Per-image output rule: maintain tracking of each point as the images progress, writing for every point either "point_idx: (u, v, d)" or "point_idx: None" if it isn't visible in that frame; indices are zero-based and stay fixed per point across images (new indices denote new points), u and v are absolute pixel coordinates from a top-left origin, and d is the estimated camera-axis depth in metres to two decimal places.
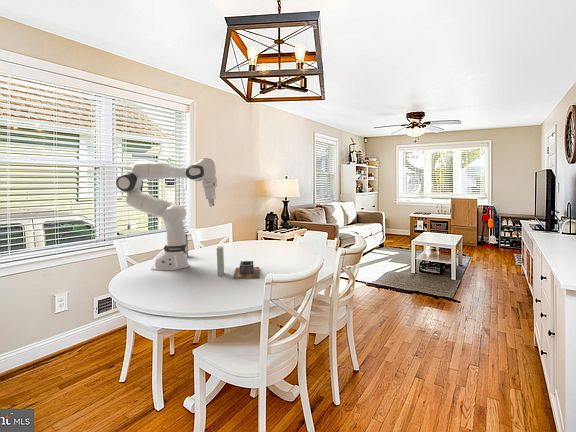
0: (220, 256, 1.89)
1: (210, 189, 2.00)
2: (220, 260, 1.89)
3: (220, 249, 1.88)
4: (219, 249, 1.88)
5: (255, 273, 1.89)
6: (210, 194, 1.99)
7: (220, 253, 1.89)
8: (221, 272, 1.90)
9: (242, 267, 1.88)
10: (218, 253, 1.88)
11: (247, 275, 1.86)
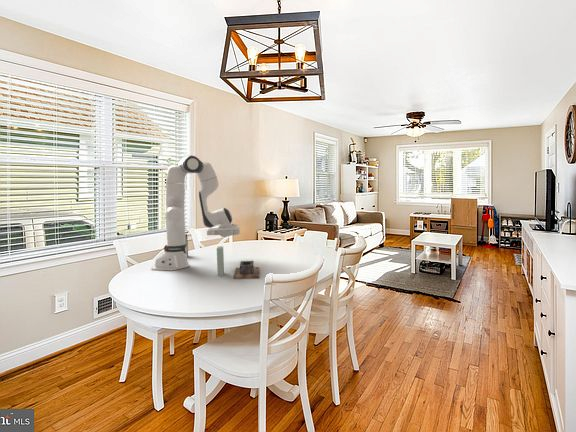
0: (220, 256, 1.89)
1: None
2: (220, 260, 1.89)
3: (220, 249, 1.88)
4: (219, 249, 1.88)
5: (255, 273, 1.89)
6: (239, 232, 2.11)
7: (220, 253, 1.89)
8: (221, 272, 1.90)
9: (242, 267, 1.88)
10: (218, 253, 1.88)
11: (247, 275, 1.86)
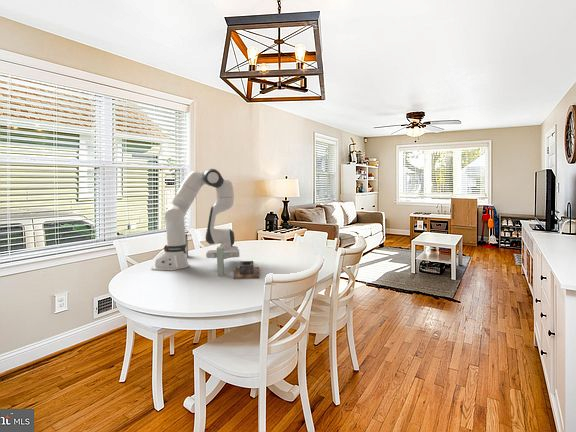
0: (220, 256, 1.89)
1: None
2: (220, 260, 1.89)
3: (220, 249, 1.88)
4: (219, 249, 1.88)
5: (255, 273, 1.89)
6: None
7: (220, 253, 1.89)
8: (221, 272, 1.90)
9: (242, 267, 1.88)
10: (218, 253, 1.88)
11: (247, 275, 1.86)
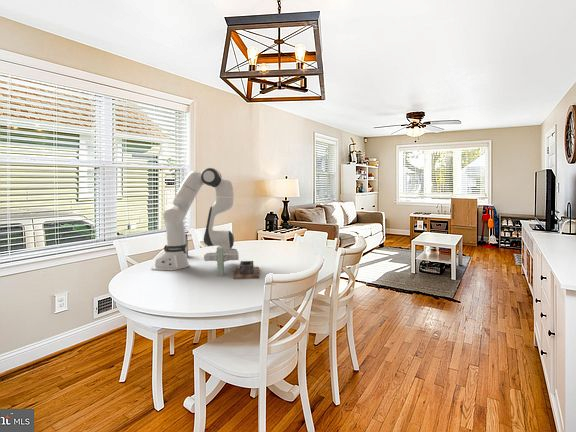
0: (220, 256, 1.89)
1: None
2: (220, 260, 1.89)
3: (220, 249, 1.88)
4: (219, 249, 1.88)
5: (255, 273, 1.89)
6: (238, 258, 1.99)
7: (220, 253, 1.89)
8: (221, 272, 1.90)
9: (242, 267, 1.88)
10: (218, 253, 1.88)
11: (247, 275, 1.86)
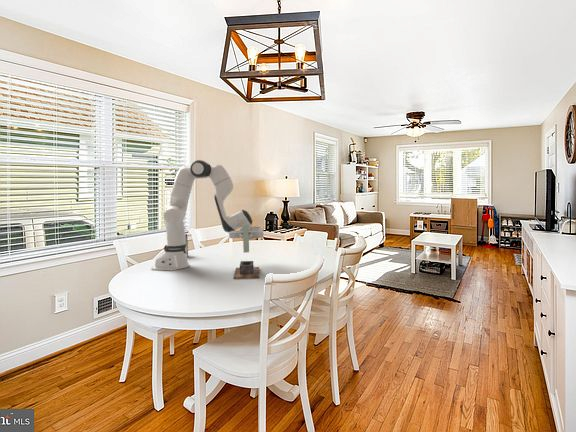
0: (246, 232, 1.89)
1: None
2: (246, 236, 1.89)
3: (246, 225, 1.88)
4: (245, 225, 1.88)
5: (255, 273, 1.89)
6: None
7: (246, 229, 1.88)
8: (247, 248, 1.90)
9: (242, 267, 1.88)
10: (244, 229, 1.88)
11: (247, 275, 1.86)
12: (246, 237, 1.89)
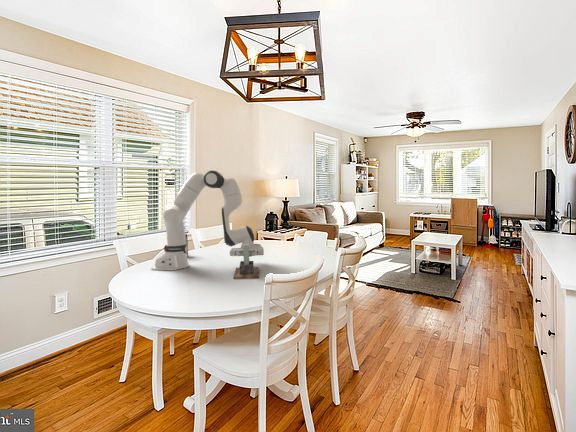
0: (247, 253, 1.90)
1: None
2: (246, 257, 1.90)
3: (247, 246, 1.89)
4: (246, 246, 1.89)
5: (255, 273, 1.89)
6: None
7: (247, 250, 1.90)
8: None
9: (242, 267, 1.88)
10: (245, 250, 1.89)
11: (247, 275, 1.86)
12: (247, 258, 1.90)
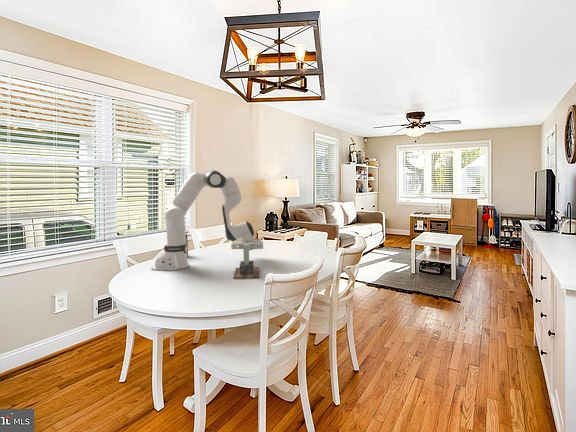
0: (247, 253, 1.90)
1: None
2: (246, 257, 1.90)
3: (247, 246, 1.89)
4: (246, 246, 1.89)
5: (255, 273, 1.89)
6: None
7: (247, 250, 1.90)
8: None
9: (242, 267, 1.88)
10: (245, 250, 1.89)
11: (247, 275, 1.86)
12: (247, 258, 1.90)
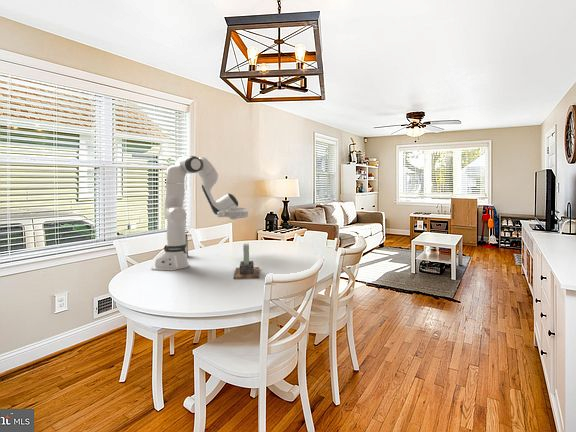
0: (247, 253, 1.90)
1: None
2: (246, 257, 1.90)
3: (247, 246, 1.89)
4: (246, 246, 1.89)
5: (255, 273, 1.89)
6: (247, 215, 2.24)
7: (247, 250, 1.90)
8: None
9: (242, 267, 1.88)
10: (245, 250, 1.89)
11: (247, 275, 1.86)
12: (247, 258, 1.90)
